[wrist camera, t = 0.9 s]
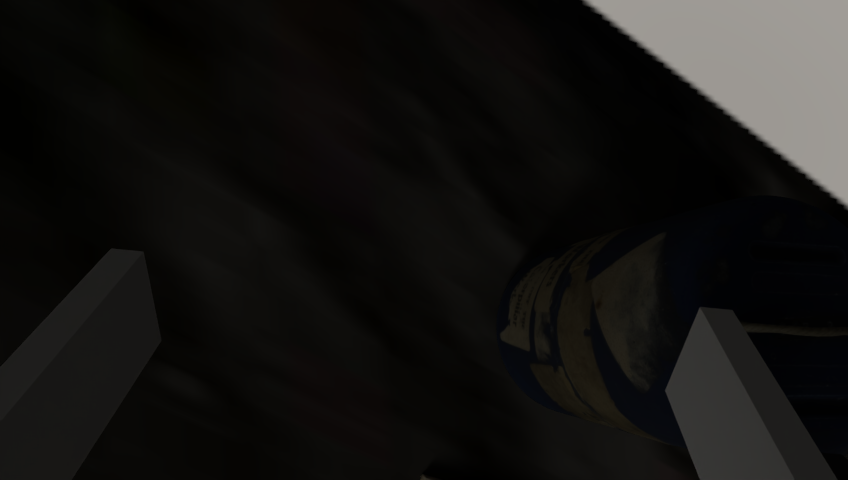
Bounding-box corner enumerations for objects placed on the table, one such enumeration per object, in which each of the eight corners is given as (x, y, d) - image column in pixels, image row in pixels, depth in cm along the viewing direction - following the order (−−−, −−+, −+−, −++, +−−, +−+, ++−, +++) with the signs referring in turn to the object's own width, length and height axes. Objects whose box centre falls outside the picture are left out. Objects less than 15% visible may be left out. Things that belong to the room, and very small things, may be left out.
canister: (509, 230, 36) (727, 135, 18) (645, 276, 38) (960, 227, 20) (470, 389, 34) (675, 447, 16) (616, 429, 35) (940, 519, 18)
